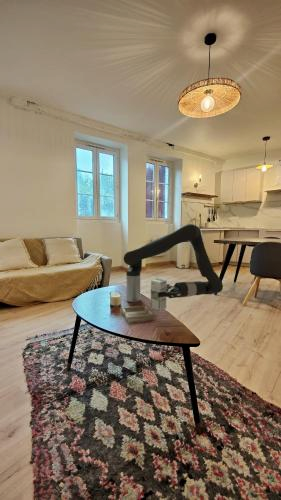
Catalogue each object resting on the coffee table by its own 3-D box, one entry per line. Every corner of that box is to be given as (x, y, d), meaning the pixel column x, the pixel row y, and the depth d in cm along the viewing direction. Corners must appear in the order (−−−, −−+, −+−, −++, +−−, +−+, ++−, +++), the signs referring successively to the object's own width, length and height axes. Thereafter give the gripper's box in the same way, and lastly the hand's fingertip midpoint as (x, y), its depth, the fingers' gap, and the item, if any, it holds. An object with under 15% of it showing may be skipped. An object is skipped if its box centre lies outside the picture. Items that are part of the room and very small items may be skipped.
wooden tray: (121, 312, 126) (121, 307, 125) (145, 310, 130) (145, 305, 130) (127, 323, 113) (127, 317, 112) (153, 319, 117) (153, 314, 116)
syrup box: (166, 308, 108) (167, 279, 107) (159, 311, 104) (159, 282, 102) (157, 305, 112) (157, 277, 110) (150, 308, 108) (150, 279, 106)
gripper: (178, 278, 117) (150, 280, 113) (192, 286, 104) (160, 288, 99) (178, 292, 118) (150, 294, 114) (192, 301, 105) (160, 304, 100)
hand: (155, 292), depth 106 cm, fingers closed on syrup box, 8 cm apart
